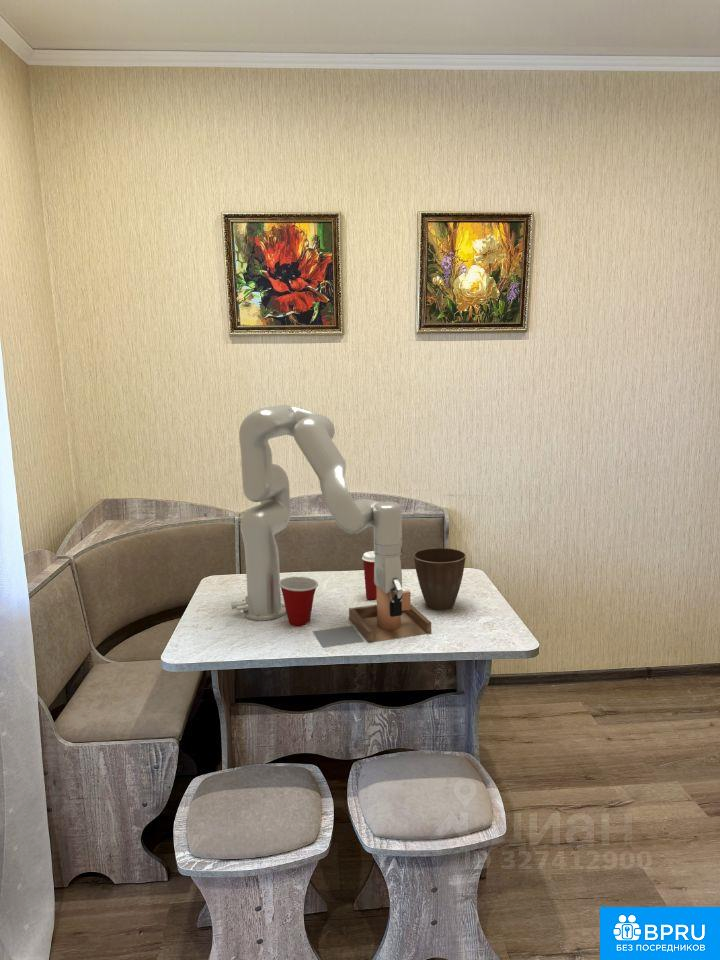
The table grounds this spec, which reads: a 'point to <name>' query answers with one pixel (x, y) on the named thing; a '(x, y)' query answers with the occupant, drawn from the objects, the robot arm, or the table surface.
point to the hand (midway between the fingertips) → (389, 609)
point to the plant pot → (439, 576)
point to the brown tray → (367, 626)
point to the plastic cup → (298, 598)
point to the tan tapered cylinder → (384, 610)
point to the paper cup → (369, 575)
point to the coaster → (337, 636)
